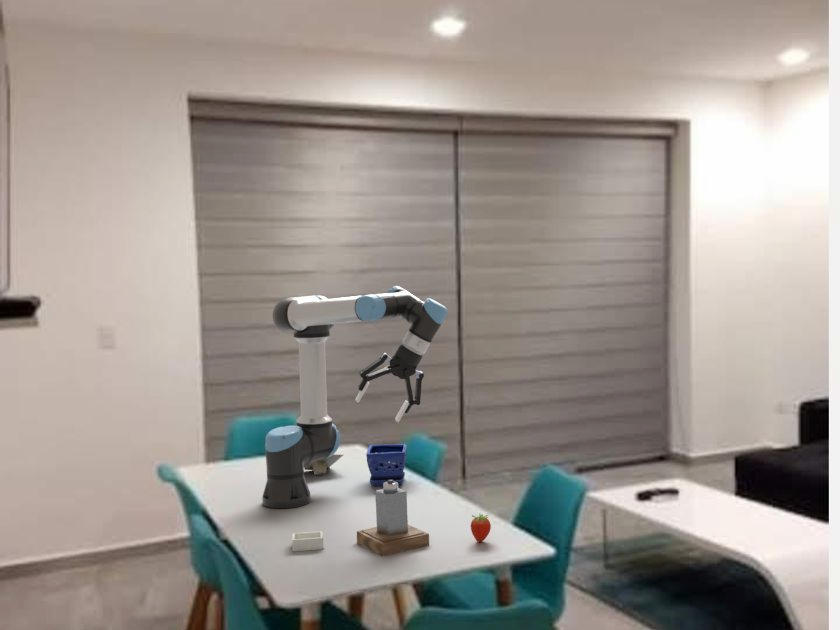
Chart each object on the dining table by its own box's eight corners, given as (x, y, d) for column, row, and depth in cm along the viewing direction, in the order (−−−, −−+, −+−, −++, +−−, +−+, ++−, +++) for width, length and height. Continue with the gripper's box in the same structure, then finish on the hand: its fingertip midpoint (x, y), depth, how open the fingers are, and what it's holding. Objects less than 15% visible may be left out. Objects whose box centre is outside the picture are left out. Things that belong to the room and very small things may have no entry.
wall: (289, 488, 312) (303, 466, 303) (286, 466, 318) (299, 444, 308) (332, 488, 320) (347, 467, 310) (328, 467, 325) (343, 445, 315)
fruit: (478, 537, 237) (477, 508, 236) (494, 540, 233) (493, 511, 233) (466, 543, 233) (465, 513, 232) (483, 546, 229) (482, 516, 229)
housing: (377, 531, 235) (374, 480, 234) (396, 526, 238) (394, 476, 237) (388, 536, 230) (386, 484, 229) (408, 532, 233) (406, 480, 232)
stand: (357, 542, 236) (356, 530, 236) (401, 532, 244) (401, 520, 244) (383, 556, 225) (382, 543, 224) (429, 544, 232) (428, 532, 232)
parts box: (292, 551, 231) (292, 540, 231) (293, 544, 237) (292, 533, 237) (323, 549, 232) (322, 537, 232) (322, 542, 238) (322, 531, 238)
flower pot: (406, 487, 293) (405, 451, 292) (367, 488, 293) (365, 452, 292) (408, 477, 306) (406, 443, 305) (370, 478, 306) (368, 444, 306)
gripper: (377, 333, 251) (341, 396, 253) (451, 371, 258) (415, 432, 260) (373, 326, 258) (338, 388, 260) (445, 364, 265) (410, 424, 267)
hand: (376, 410), depth 260 cm, fingers open, 13 cm apart
